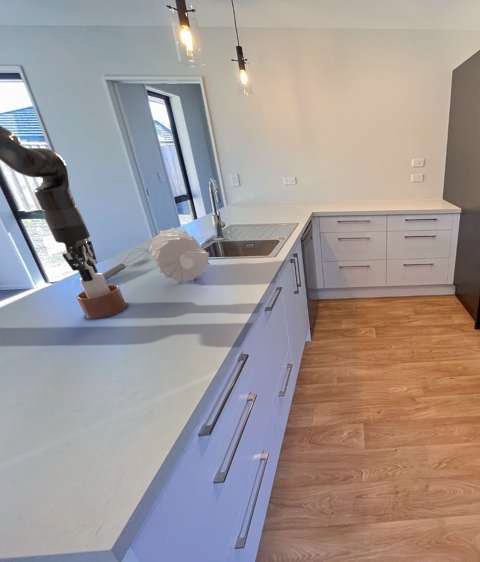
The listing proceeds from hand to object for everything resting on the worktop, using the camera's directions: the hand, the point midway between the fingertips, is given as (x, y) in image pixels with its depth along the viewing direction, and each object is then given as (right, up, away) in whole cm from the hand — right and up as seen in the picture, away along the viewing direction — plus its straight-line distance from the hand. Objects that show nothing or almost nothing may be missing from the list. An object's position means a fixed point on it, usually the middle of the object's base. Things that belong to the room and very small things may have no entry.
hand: (91, 277), depth 93 cm
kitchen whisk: (-20, +3, +38) cm, 43 cm away
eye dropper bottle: (0, -7, +3) cm, 7 cm away
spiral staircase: (+9, +2, +32) cm, 34 cm away
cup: (0, -11, +5) cm, 12 cm away
